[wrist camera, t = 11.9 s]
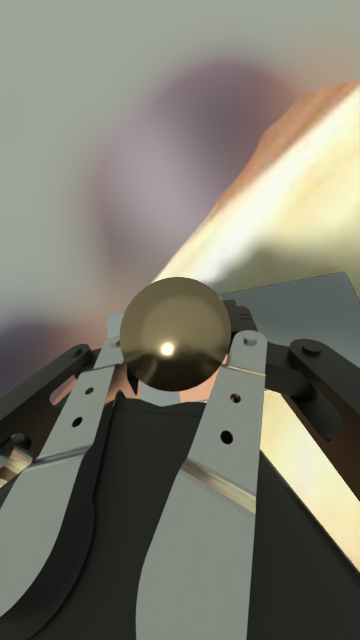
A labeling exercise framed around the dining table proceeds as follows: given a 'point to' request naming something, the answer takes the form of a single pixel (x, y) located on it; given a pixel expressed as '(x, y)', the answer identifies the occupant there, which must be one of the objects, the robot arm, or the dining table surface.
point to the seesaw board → (283, 323)
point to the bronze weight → (175, 334)
